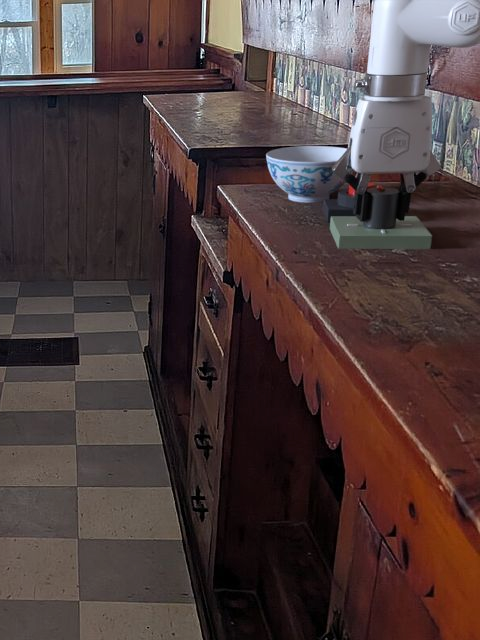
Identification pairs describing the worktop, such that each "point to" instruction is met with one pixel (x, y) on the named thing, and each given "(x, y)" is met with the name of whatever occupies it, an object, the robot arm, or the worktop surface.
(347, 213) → the switch block
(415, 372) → the worktop surface
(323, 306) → the worktop surface
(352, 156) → the robot arm
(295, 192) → the chinaware
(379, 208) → the dark grey cylinder
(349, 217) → the console
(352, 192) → the button
